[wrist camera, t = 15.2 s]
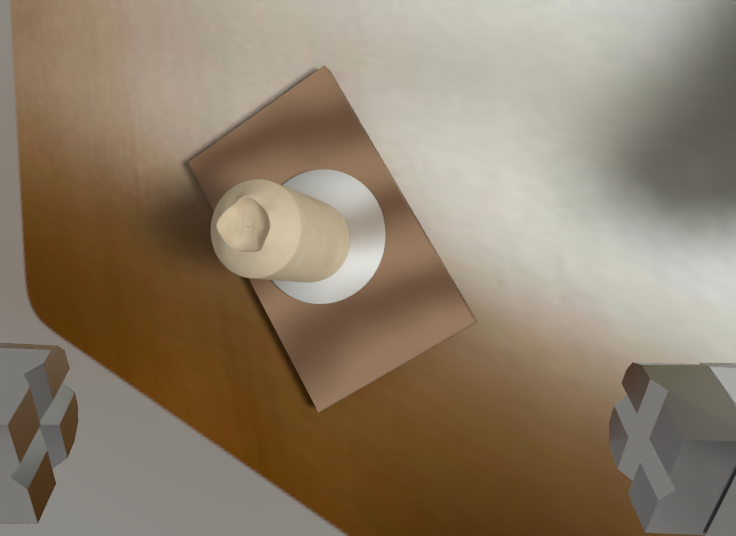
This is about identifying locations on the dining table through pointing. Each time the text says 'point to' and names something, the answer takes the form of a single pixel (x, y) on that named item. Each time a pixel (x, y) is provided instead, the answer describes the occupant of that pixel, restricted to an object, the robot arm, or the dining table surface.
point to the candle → (278, 233)
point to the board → (366, 252)
